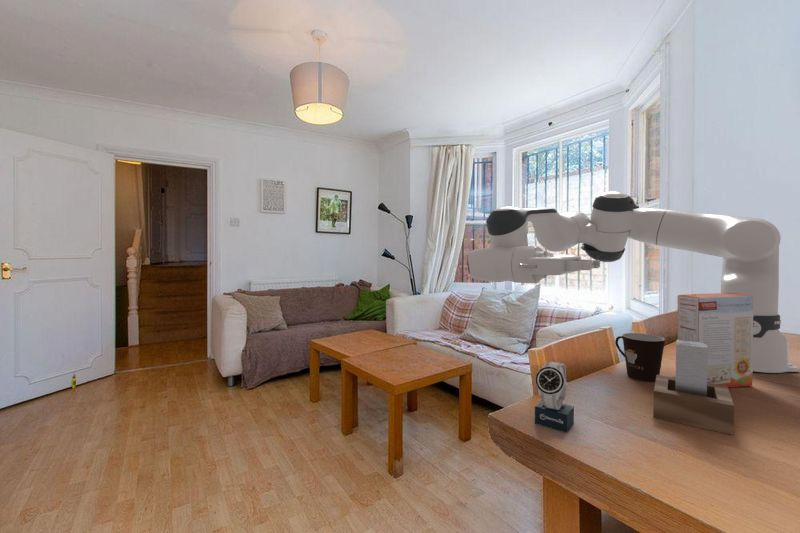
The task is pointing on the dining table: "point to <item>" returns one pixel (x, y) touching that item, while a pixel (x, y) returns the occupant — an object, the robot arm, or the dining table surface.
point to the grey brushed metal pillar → (691, 367)
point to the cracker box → (720, 334)
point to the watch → (553, 398)
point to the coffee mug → (642, 355)
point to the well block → (694, 406)
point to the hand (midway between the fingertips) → (595, 264)
